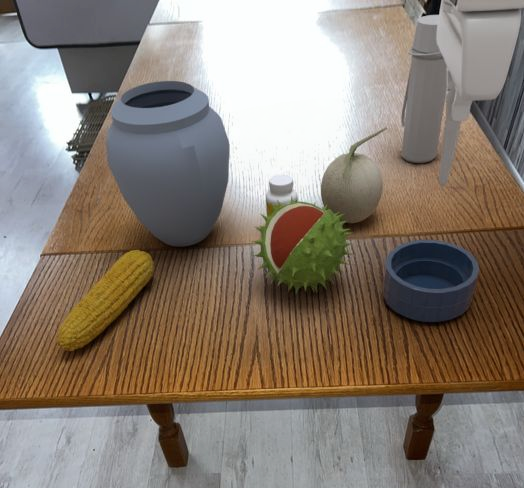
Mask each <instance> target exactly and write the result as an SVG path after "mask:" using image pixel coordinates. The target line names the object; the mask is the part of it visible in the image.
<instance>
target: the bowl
mask: <svg viewBox="0 0 524 488" xmlns="http://www.w3.org/2000/svg"><path fill="white" fill-rule="evenodd" d="M479 273H480V266H479V262H478V260H477V259H476V258H475V256H474V255H473V254H472V253H471V252H470V251H468V250H467V249H465V248H464V247H462V246H459V245H457V244H454V243H452V242H448V241H444V240H439V239H415V240H411V241H407V242H404V243H402V244H399V245H397V246H395V247H394V248H393V249H392V250H390V251H389V252H388V254H387V256H386V257H385V261H384V270H383V279H382V280H383V281H382V298H383V299H384V300H385V303H386V305H387V306H388V307H389V308H390V309H392V311H394V312H395V313H397V314H399V315H400V316H402V317H405V318H408V319H410V320H413V321H416V322H422V323H440V322H445V321H450V320H451V321H452V320H453V319H455V318H458V317H460V316H462V315H464V313H466V311H468V309H469V308H470V307H471V304H472V301H473V299H474V294H475V289H476V286H477V282H478V277H479Z"/></svg>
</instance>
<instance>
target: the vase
mask: <svg viewBox="0 0 524 488" xmlns="http://www.w3.org/2000/svg"><path fill="white" fill-rule="evenodd" d="M109 113H110V116H111V119H112V122H111V123H110V126H109V127H108V128H107V131H106V134H105V144H106V161H107V164H108V167H109V169H110V171H111V174H112V176H113V178H114V180H115V183H116V185H117V187H118V189H119V191H120V193H121V195H122V198H123V200H124V201H125V203H126V204H127V205H128V207H129V208H130V210H131V211H132V212H133V214H134V215H135V217H136V218H137V219H138V221H139V222H140V224H141V225H142V226H143V227H144V228H145V229H146V230H147V231H148V232H149V233H151V234H152V235H153V236H154V237H155V238H157V239H158V240H159V241H161V242H163V243H164V244H166V245H167V246H171V247H177V248H178V247H179V248H180V247H182V248H183V247H189V246H193V245H196V244H199V243H200V242H202V241H203V240H205V239H206V238H207V237H208V236H209V234H210V233H211V232H212V230H213V229H214V227H215V225H216V224H217V221H218V220H219V217H220V215H221V213H222V210H223V206H224V200H225V197H226V192H227V189H228V184H229V176H230V175H229V174H230V173H229V172H230V148H231V147H230V146H231V145H230V140H229V137H228V134H227V131H226V129H225V124H224V122H223V119H222V117H221V116H220V115H219V114H218V112H216V111H215V110H214V109H213V108H212V107H211V106H210V100H209V96H208V95H207V94H206V93H205V92H204V91H202V90H200V89H198V88H196V87H195V86H193V85H191V84H190V83H187V82H184V81H177V80H162V81H154V82H147V83H144V84H141V85H138V86H135V87H131V88H130V89H128V90H127V91H125V92H124V93H122V94H121V96H120V98H118V100H116V102H115V103H114V104H113V105H112V107H111V108H110V111H109Z"/></svg>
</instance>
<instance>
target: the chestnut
mask: <svg viewBox="0 0 524 488" xmlns="http://www.w3.org/2000/svg"><path fill="white" fill-rule="evenodd" d="M277 202H278V205H279V208H276V207H275V206H273V204H272V203H271V205H272V208H273V214H272V215H269V214H268V215H269V217H267V215H265V214H262V213H260V216H261V217H262V218H263V219H264V221H265V223H264V225H258V227H257V226H254V228H255V229H257V230H258V231H259V232H260V233H261V236H260V239H258V240H253V241H251V243H254V244H257V245H260V251H259V252H258V253H257V254H254V255H253V257H256V258H262V260H263V263H262V264H261V265H260V266H259V267H258V268H257V270H261V269H264V268H266V269H267V271H266V273H265V274H267V275H266V276H265V278H268V277H270V276H272V278H271V280H270V282H269V284H270V285H271V284H272V283H273V282H274V281H275V280H278V283H277V287H279V286H280V285H281V283H283V284H285V285H287V293H290V290H291V289H292V287H294V289H295V290H294V291H295V295H296V296H298V292H299V289H300V288H302V287H303V288H304V292H307V288H308V287H309V286H310V288H311V289H312V292H314V293H316V294H317V293H318V285H319V284H320V285H322V286H323V287H324V289H327V286H326V283H325V282H326V280H328V281H329V282H330V283H332V284H333V285H335V283H334V280H333V278H332V277H333V274H335V275H337V276H339V277H340V274H339V273H338V272H340V273H341V274H344V272H343V270H341V268H340V264H341V265H343V264H344V265H350V263H348V262H347V261H346V260H344V259H343V257H344V256H346V255H347V256H351V255H352V256H353V255H354V254H353V253H352V252H349V251H347V250H346V247H348V246H354V244H353V243H350V242H347V241H346V238H347V237H348V236H349V235H351V234H353V232H348V231H350V230H351V228H343V225H344V224H346V223H345V222H347V221H348V220H346V221H343V222H341V221H340V218H341V217H342V216H343V215H344V214H345V213H344V214H341V215H339V216H337V214H338V213H339V212H338V213H336V214H334V213H333V212H332V211H331V210H330V209H328V210H327V211H326V208H327V205H326V206H325V207H324V206H323V208H321V207H319V206H317V205H316V204H317V203H316V201H315V202H314V203H312V202H307V201H301V200H300V201H299V200H298V201H297V202H294V201H293V199H292V196H291V203H288V204H285V205H281V203H280V202H279V201H278V200H277Z"/></svg>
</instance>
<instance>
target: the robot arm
mask: <svg viewBox="0 0 524 488" xmlns="http://www.w3.org/2000/svg"><path fill="white" fill-rule="evenodd" d="M521 9H524V0H441V1H440V7H439V14H438V15H439V19H438V25H437V35H436V41H437V45H438V47H439V49H440V52H441V54H442V56H443V58H444V61H445V63H446V65H447V87H448V85H449V84H450V83H451V81H452V79H453V81H454V83H455V89H456V91H455V96H454V100H452V105H451V111H450V114H451V117H452V120H454V121H462V122H465V121H467V120H468V119H469V117H470V112H471V107H472V104H473V102H474V101H477V102H478V101H491V100H495V99H497V97H499V95H500V93H501V92H502V90H503V88H504V85H505V83H506V80H507V77H508V74H509V69H510V67H511V66H510V65H511V62H512V60H513V55H514V52H515V49H516V45H517V41H518V37H519V32H520V28H521V22H522V11H521ZM448 92H449V89H448V88H447V90H446V96H445V103H446V98H447V94H448Z"/></svg>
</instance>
